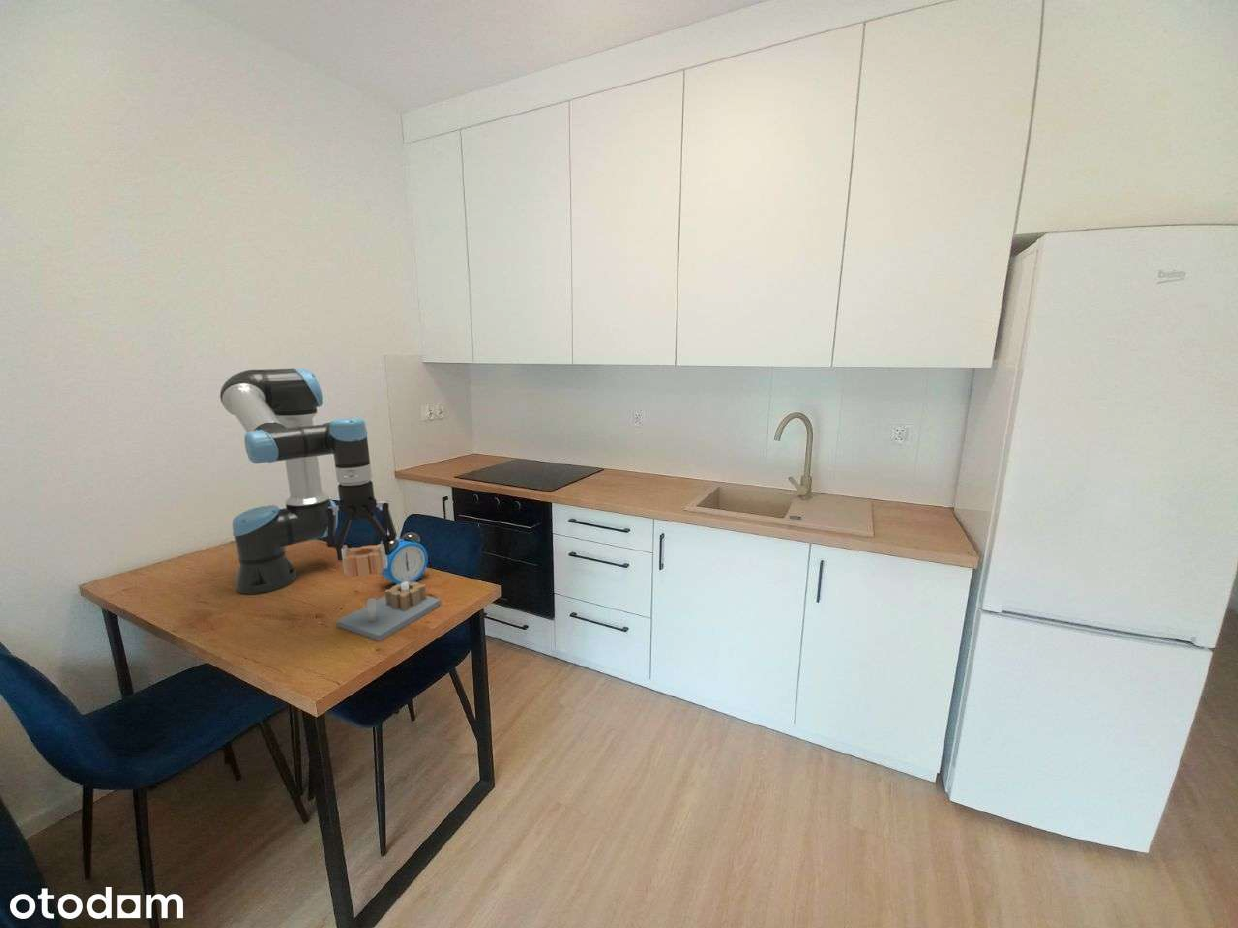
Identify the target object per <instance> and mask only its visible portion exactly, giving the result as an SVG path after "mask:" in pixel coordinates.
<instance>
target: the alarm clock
mask: <svg viewBox="0 0 1238 928" xmlns="http://www.w3.org/2000/svg"><path fill="white" fill-rule="evenodd" d="M420 541H421V539H420V536H419V535H418V534H417V533H416V532H414V531H413V532H407V533H405V534H404V535H403V536H402V537H399V538H398V539H397V538H396V539H395V540H392V541H390V550H391V551H390V554H389V555H387V564H388V565H387V568H386V569H383V570H382V571H383V573H380V574H381V576H382V577H383V578H384V579H386V580H387V581H390V582H391V583H394V584H395V585H397V584H401V583H402V582H404V581H406V580H409V582H410V581H411V582H413V581H414V582H417V580H420V578H421V576H423V574H424V573H425V570H426V568H427V566H428V560H429V558H428V552H427V550H426V549H425V547H424V546H423V545H421V544H420Z"/></svg>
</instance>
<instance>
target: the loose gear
mask: <svg viewBox="0 0 1238 928" xmlns="http://www.w3.org/2000/svg"><path fill="white" fill-rule="evenodd" d="M380 544H381V543H380ZM380 544H377V545H375V544H374V545H365V546H364V545H363V546H360V547H351V548H349V549H348V548H347V551H348V552H347V554H346V555H345V556H346V558H344V565H345V572H346V574H345V578H347V579H352V578H356V577H358V578H363V577H369V576H371V575H380V574H381V573H383V571H382V570H383V564H382V556H381V548H380Z"/></svg>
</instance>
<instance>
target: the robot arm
mask: <svg viewBox="0 0 1238 928" xmlns="http://www.w3.org/2000/svg"><path fill="white" fill-rule="evenodd" d="M220 389H221V390H220V393H219V394H220V395H219V398H220V402H221V404H222V406H223V407H224V409H225V410H226V411H227V412H229V413H230V414H231V415H234V416H235V418H236V419H237V420H238V422H239V423H240V425H241V426H242V428H243V429H244V430H245V432H246V433H245V434H244V440H243V441H244V448H245V452H246V455H247V458H248V459H249V460H248V461H250V462H251V463H252V464H265V463H267V464H272V463H276V462H283V461H285V467H286V473H287V474H286V475H287V482H288V489H289V493H290V494H289V497H288V498H287V499H286V501H285V508H281V509H280V507H278V506H277V505H274V504H273V505H271V504H270V505H266V506H265V505H264V506H263V505H262V506H258V507H255V508H251V509H248V510H246V511H243V512H241V513H240V514H238V515H236V516H235V517H234V518H233V520H232V530H233V532H232V535H233V536H234V539H235V540H234V541H235V546H236V551H237V552H236V553H237V557H238V563H239V566H238V571H237V573H236V574H237V575H236V580H235V589H236V591H237V593H239V594H243V595H256V594H263V593H269V592H273V591H276V590H279V589H281V588H285V587H286V586H288V585H290V584H292V583H293V582H294V581H295V580H296V579H297V571H296V569H295V567H294V565H293V564H292V562H291V560H290V559H289V558H288V557H289V556H288V555H287V553H286V552H287V551H286V547H288V546H293V545H296V544H297V545H298V544H301V543H305V542H309V541H314V540H320V539H322V538H326V547H327V548H334V549H335V550H336V556H337V561H339V562H340V561H342V566H343V573H344V574H345V575H346V572H345V565H344V558H346V556H345V555H346V554H347V552H349V550H348V545H347V544H344V542H345V539H346V537H347V533H348V531H349V528H350V526H351V523H352V521H356V520H359V519H360V520H367V521H368V522H369V523H370V525H371V526H372V528H373V529H374V531H375V532H376V534H377V535H378V537H379V538H380V540H381V542H380V548H381V556H382V564H383V569H386V568H387V565H388V564H387V555H389V554H390V551H391V550H390V541H392V540H395V539H397V538H396V537H397V536H398V535H397V531H396V528H395V525H394V522H393V520H392V519H393V518H392V517H391V513H390V510H389V509H390V508H389V507H390V502H389V501H388V500H384V501H378V500H377V499H376V497H375V490H374V485H373V484H374V483H373V481H372V480H371V479H373V475H372V465H371V461H370V459H371V458H370V450H369V443H368V442H369V441H368V430H367V427H366V423H365V420H364V419H363V418H361V417H341V418H334V419H332V420H331V421H330V422H326V423H321V424H317V425H314V421H313V420H314V418H315V416H317V414H318V408H319V407H322V406H323V404H324V401H323V400H324V396H323V392H322V389H321V385H320V383H319V381H318V379H317V377H316V375H315V373H314V372H313V371H311V370H309V369H305V368H294V367H293V368H275V369H274V368H273V369H272V368H271V369H249V370H248V369H247V370H244V371H241V372H238V373H236V374H234V375H233V376H231V377H230V378H228V379H227V380H226V381H225V382H224V384H223V385H222V386H221V388H220ZM326 455H333V460H334V469H335V475H336V482H337V483H338V485H337V489H338V490H337V491H338V498H339V503H338V505H336V503H335V501H333V500H332V499H330V498H329V495H327V493H324V492H323V487H322V481H321V480H322V479H321V478H322V477H321V474H320V466H319V465H320V463H319V458H318V456H319V457H320V456H326ZM376 507H378V510H379V511H381V512H382V516H383V520H384V523H385V525H386V529H387V531H386V530H385V529H384V527H383V526H382V524H381V523H380V521H379V520H378V518H377V516H376V515H375V513H374V510H375V509H376ZM339 511H340V512H341V513H342V514H344V516H345V518H344V522H343V525H342V527H341V530H340V533H339V536H338V539H337V540H336V539H335V537H336V530H337V527H338V521H339V519H338V517H339V515H338V514H339ZM387 532H388V534H387ZM343 544H344V545H343Z"/></svg>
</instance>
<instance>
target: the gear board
mask: <svg viewBox="0 0 1238 928" xmlns="http://www.w3.org/2000/svg"><path fill="white" fill-rule="evenodd" d="M366 604H367V605H365V606H363V607H360V609H357V610H355V611H353V612H351V613H349V614H347V615H345V616H343V617H342V618H339V619H337V620H336V621H335V623H336V627H338V628H341V629H343V630H347V631H349V632H351V633H355V634H358V635H360V636H364V637H366V638H369V639H372V640H374V641H377V642H381V641H383V640H384V639H386V638H388V637H389V636H391V635H392V634H395V633H396V632H398V631H400V630H401V629H403V628H404V627H406V626H408V625H410V624H411V623H413V622H415V621H416V620H418V619H420V618H421V617H422V618H423V616H425V615H426V614H429V612H432V611H433V610H435V609H437V608H438V607H440V606H441V605H442V599H439V598H437V597H434V596H433V597H432V596H429V595H427V592H426V584H425V583H423V584H421V583H420V582H417V581H413V582H411V581H410V582H409V580H406V581H404V582H402V583H401V584H395V585H393V586H391V587H390V588H389V589H385V591H384V596H383V597H381V598H379V599H376V598H375V597H371V598H368V599H367V600H366Z"/></svg>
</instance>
